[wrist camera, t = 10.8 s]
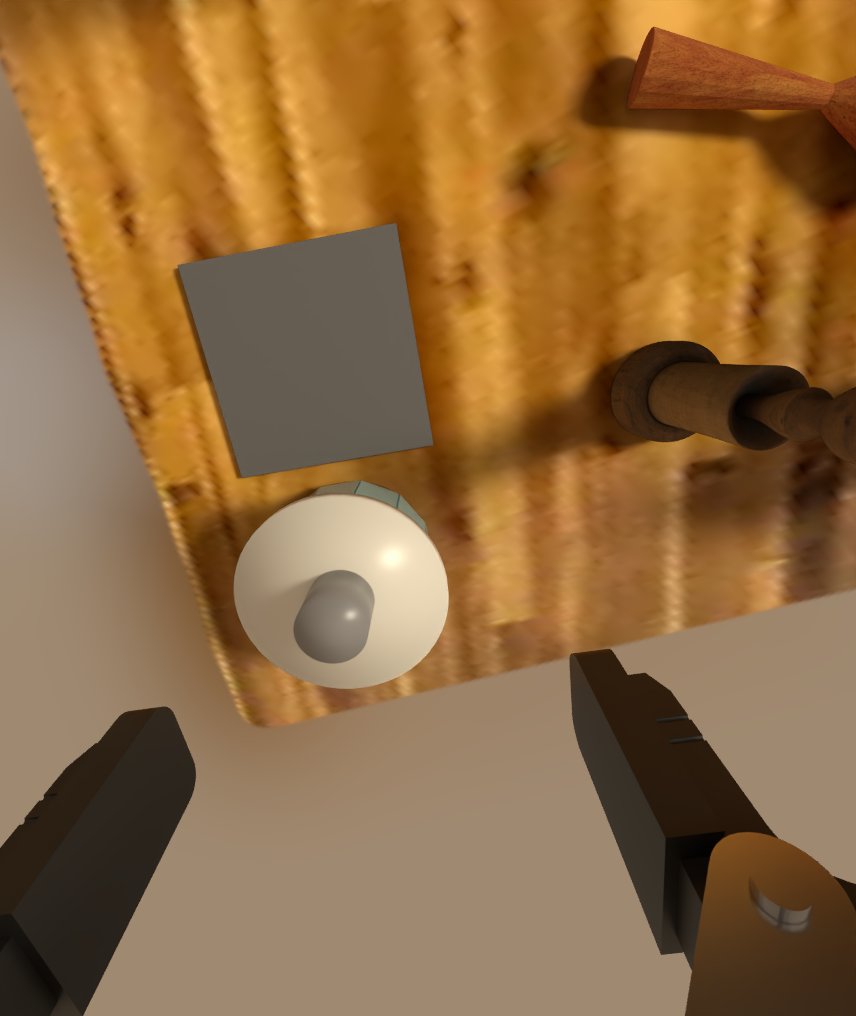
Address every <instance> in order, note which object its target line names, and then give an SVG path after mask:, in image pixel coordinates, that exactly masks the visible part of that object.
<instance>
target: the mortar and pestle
mask: <svg viewBox="0 0 856 1016" xmlns="http://www.w3.org/2000/svg"><path fill="white" fill-rule="evenodd" d="M611 406H612V410H613V413H614V415H615V417H616V419H617V421H618V422H619V423H620V425H621V426H622V427H623V428H624V429H626V430H627V431H628V432H630V433H632V434H634V435H637V436H640V437H643V438H646V439H648V440H652V441H657V442H673V441H678V440H682V439H685V438H687V437H689V436H691V435H693V434H695V433H699V434H703V435H706V436H709V437H712V438H716V439H719V440H722V441H725V442H728V443H731V444H735V445H738V446H741V447H744V448H747V449H751V450H757V451H762V450H769V449H773V448H775V447H778V446H780V445H781V444H783V443H785V442H786V441H788V440H789V439H791V440H794V441H799V442H803V441H809V440H812V439H815V438H817V437H818V436H820V437H821V439H822V440H823V442H824V443H825V444H826V446H827V447H828V448H829V450H830V451H831V452H833V453H834V454H835V455H836V456H838V457H839V458H841V459H843V460H845V461H847V462H850V463H853V464H856V387H855V388H853V389H851V390H849V391H847V392H845V393H843V394H841V395H839V396H838V397H836V398H834V399H833V397H832V396H831V394H830V393H829V392H827V391H826V390H824V389H821V388H815V387H811V388H809V385H808V382H807V381H806V379H805V377H804V376H803V375H802V374H801V373H800V372H799V371H797V370H795V369H793V368H790V367H787V366H777V365H733V364H720V363H719V361H718V359H717V358H716V357H715V355H714V354H713V353H712V352H711V351H710V350H708V349H707V348H705V347H704V346H702V345H700V344H697V343H694V342H689V341H662V342H657V343H653V344H650V345H648V346H646V347H644V348H642V349H640V350H638V351H637V352H635V353H634V354H633V355H632V356H631V357H629V358H628V359H627V360H626V362H625V363H624V364H623V365H622V367H621V368H620V369H619V371H618V373H617V375H616V377H615V379H614V382H613V385H612V390H611Z"/></svg>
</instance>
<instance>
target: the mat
mask: <svg viewBox="0 0 856 1016" xmlns="http://www.w3.org/2000/svg"><path fill="white" fill-rule="evenodd" d="M178 269H179V272H180V275H181V278H182V282H183V285H184V288H185V292H186V295H187V298H188V302H189V305H190V308H191V311H192V315H193V318H194V321H195V325H196V328H197V331H198V335H199V338H200V341H201V344H202V348H203V351H204V354H205V358H206V361H207V364H208V368H209V371H210V374H211V377H212V381H213V384H214V387H215V391H216V394H217V397H218V401H219V404H220V407H221V410H222V414H223V417H224V420H225V424H226V427H227V430H228V433H229V437H230V440H231V443H232V447H233V450H234V453H235V457H236V460H237V463H238V466H239V470H240V473H241V476H242V478H244V477H250V476H256V475H262V474H268V473H273V472H279V471H285V470H291V469H297V468H303V467H309V466H314V465H320V464H326V463H332V462H338V461H344V460H350V459H355V458H361V457H367V456H373V455H379V454H385V453H390V452H396V451H402V450H408V449H414V448H420V447H426V446H431V445H433V439H432V433H431V427H430V421H429V415H428V409H427V403H426V397H425V392H424V386H423V380H422V374H421V368H420V362H419V356H418V350H417V344H416V338H415V332H414V326H413V320H412V314H411V308H410V303H409V297H408V291H407V285H406V279H405V273H404V267H403V261H402V255H401V249H400V243H399V237H398V231H397V225H396V223H393V224H388V225H383V226H377V227H372V228H367V229H362V230H357V231H352V232H346V233H341V234H336V235H331V236H326V237H321V238H315V239H310V240H305V241H300V242H295V243H290V244H284V245H279V246H274V247H269V248H264V249H258V250H253V251H248V252H243V253H238V254H233V255H227V256H222V257H217V258H212V259H207V260H202V261H196V262H191V263H186V264H181V265H178Z"/></svg>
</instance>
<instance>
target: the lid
mask: <svg viewBox="0 0 856 1016" xmlns="http://www.w3.org/2000/svg"><path fill="white" fill-rule="evenodd" d="M448 596H449V595H448V585H447V576H446V572H445V568H444V564H443V561H442V559H441V556H440V554H439V552H438V550H437V548H436V546H435V545H434V543H433V541H432V540H431V538H430V537H429V536H428V535H427V533H426V532H425V531H424V529H423V528H422V527H421V526H419V525H418V524H417V523H416V522H415V521H414V520H413V519H412V518H411V517H409V516H408V515H407V514H405V513H404V512H402V511H401V510H399V509H397V508H396V507H394V506H392V505H390V504H388V503H386V502H383V501H381V500H378V499H376V498H372V497H368V496H365V495H360V494H353V493H325V494H317V495H313V496H309V497H305V498H302V499H300V500H297V501H295V502H292V503H290V504H288V505H287V506H285V507H283V508H281V509H280V510H278V511H277V512H276V513H274V514H273V515H272V516H270V517H269V518H268V519H267V520H266V521H265V522H264V523H263V524H262V525H261V526H260V527H259V528H258V529H257V530H256V531H255V532H254V534H253V535H252V536H251V538H250V539H249V540H248V542H247V543H246V545H245V547H244V549H243V551H242V553H241V555H240V557H239V560H238V563H237V566H236V571H235V577H234V599H235V606H236V609H237V613H238V617H239V619H240V621H241V624H242V626H243V628H244V630H245V632H246V634H247V635H248V637H249V639H250V640H251V641H252V643H253V644H254V645H255V647H256V648H257V649H258V650H259V651H260V652H261V653H262V654H263V655H264V656H265V657H266V658H267V659H268V660H269V661H270V662H272V663H273V664H274V665H276V666H277V667H278V668H280V669H281V670H283V671H285V672H286V673H288V674H290V675H292V676H294V677H296V678H298V679H300V680H303V681H306V682H309V683H312V684H316V685H320V686H324V687H331V688H346V689H353V688H363V687H369V686H373V685H378V684H381V683H384V682H387V681H390V680H392V679H394V678H396V677H398V676H400V675H402V674H404V673H405V672H407V671H408V670H410V669H412V668H413V667H414V666H415V665H416V664H418V663H419V662H420V661H421V660H422V659H423V658H424V657H425V656H426V655H427V654H428V653H429V651H430V650H431V649H432V647H433V646H434V644H435V643H436V641H437V640H438V638H439V636H440V634H441V632H442V629H443V626H444V623H445V620H446V616H447V610H448Z"/></svg>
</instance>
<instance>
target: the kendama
mask: <svg viewBox="0 0 856 1016" xmlns="http://www.w3.org/2000/svg"><path fill="white" fill-rule="evenodd" d="M627 108H652V109H751V110H819V111H820V112H821V113H822V114H823V115H824V116H825V117H826V119H827V120H828V121H829V122H830V123H831V124H832V125H833V126H834V127H835V128H836V130H837V131H838V132H839V133H840V134H841V135H842V136H843V137H844V138H845V139H846V140H847V142H848V143H849V144H850V145H851V146H852V147H853V148H854V149H855V150H856V76H855V77H852V78H849V79H846V80H843V81H840V82H838V83H835V84H831V83H828V82H825V81H822V80H819V79H816V78H812V77H809V76H806V75H803V74H800V73H797V72H794V71H791V70H787V69H784V68H781V67H778V66H775V65H772V64H769V63H766V62H763V61H759V60H756V59H753V58H750V57H747V56H744V55H741V54H738V53H734V52H731V51H728V50H725V49H722V48H719V47H716V46H713V45H709V44H706V43H703V42H700V41H697V40H694V39H691V38H688V37H685V36H681V35H678V34H675V33H672V32H669V31H666V30H663V29H660V28H656V27H653V28H651V30H650V31H649V33H648V35H647V37H646V39H645V41H644V44H643V46H642V49H641V51H640V54H639V57H638V60H637V63H636V66H635V70H634V74H633V79H632V83H631V87H630V91H629V96H628V100H627Z"/></svg>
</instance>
